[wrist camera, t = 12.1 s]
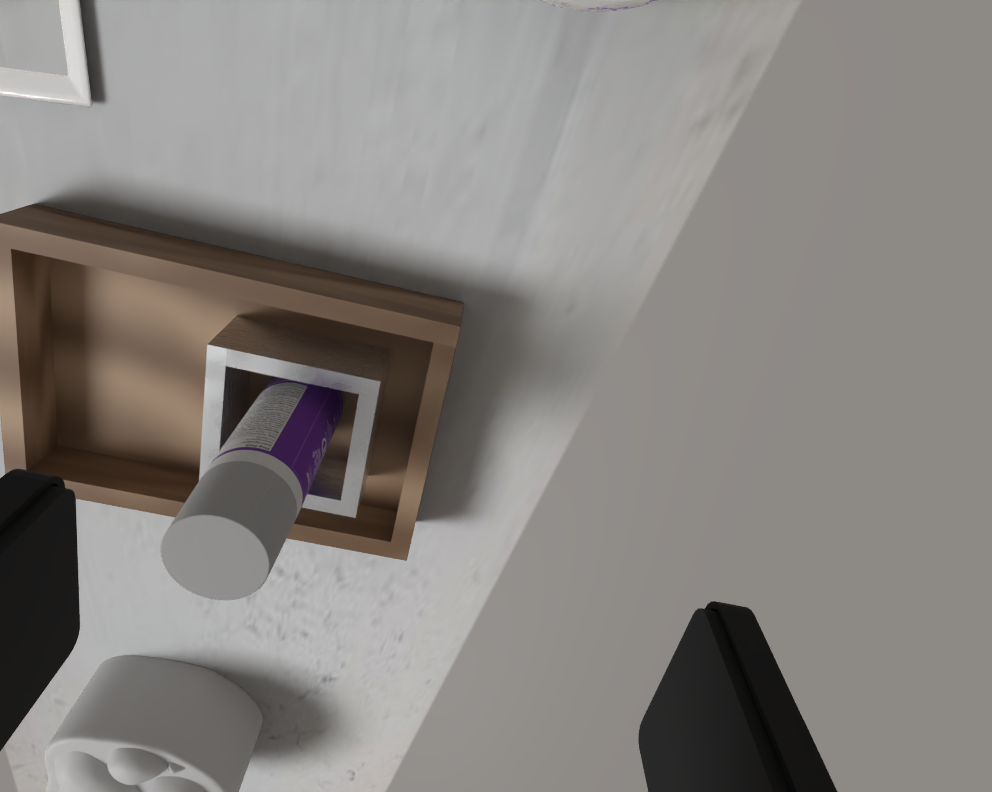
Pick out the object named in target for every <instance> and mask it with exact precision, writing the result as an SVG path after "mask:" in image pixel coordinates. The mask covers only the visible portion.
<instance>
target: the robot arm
mask: <svg viewBox="0 0 992 792" xmlns="http://www.w3.org/2000/svg"><path fill="white" fill-rule="evenodd" d="M79 630H80V615H79V585H78V555H77V526H76V498H75V493H74V491H73V490H71V489H67V488H65V483H64V481H63V479H62V478H61V477H59V476H55V475H49V474H44V473H39V472H34V471H28V470H23V469H13V470H11V471H10V472H8V473H6V474H5V475H4V476H3V477H2V478H0V751H1V749H2V748H3V747H4V745H5V744H6V743H7V741H8V740H9V738H10V737H11V736H12V734H13V733H14V731H15V730H16V729H17V727H18V726H19V724H20V723H21V722H22V720H23V719H24V717H25V716H26V715H27V713H28V712H29V710H30V709H31V708H32V706H33V705H34V703H35V702H36V701H37V699H38V698H39V697H40V695H41V694H42V692H43V691H44V690H45V688H46V687H47V685H48V684H49V683H50V681H51V680H52V678H53V677H54V676H55V674H56V673H57V671H58V670H59V669H60V667H61V666H62V664H63V663H64V662H65V660H66V659H67V658H68V656H69V655H70V653H71V651H72V650H73V648H74V646H75V644H76V641H77V638H78V635H79ZM639 748H640V754H641V758H642V763H643V768H644V773H645V777H646V782H647V787H648V792H837V790H836V788H835V786H834V784H833V782H832V779H831V778H830V775H829V773H828V771H827V769H826V767H825V765H824V762H823V760H822V758H821V756H820V754H819V752H818V750H817V747H816V745H815V743H814V741H813V739H812V737H811V735H810V732H809V730H808V728H807V726H806V724H805V722H804V720H803V718H802V716H801V714H800V712H799V710H798V707H797V705H796V703H795V701H794V699H793V697H792V695H791V692H790V690H789V688H788V686H787V684H786V682H785V680H784V677H783V675H782V673H781V671H780V669H779V667H778V665H777V662H776V660H775V658H774V656H773V654H772V652H771V650H770V647H769V645H768V643H767V641H766V639H765V637H764V635H763V632H762V630H761V628H760V626H759V624H758V622H757V620H756V617H755V615H754V614H753V612H752V611H751V610H750V609H748V608H747V607H741V606H736V605H731V604H726V603H721V602H715V601H714V602H710V603H709V604H708V605H707V606H706V608H705V609H697V610H696V611H695V613H694V614H693V616H692V618H691V620H690V622H689V624H688V626H687V628H686V631H685V633H684V635H683V637H682V639H681V641H680V643H679V645H678V647H677V649H676V651H675V653H674V655H673V657H672V659H671V662H670V664H669V666H668V668H667V670H666V672H665V674H664V676H663V678H662V680H661V682H660V684H659V686H658V689H657V691H656V693H655V695H654V697H653V699H652V701H651V703H650V705H649V707H648V710H647V711H646V713H645V715H644V718H643V720H642V722H641V725H640V730H639Z"/></svg>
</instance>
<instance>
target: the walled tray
mask: <svg viewBox="0 0 992 792" xmlns="http://www.w3.org/2000/svg"><path fill="white" fill-rule="evenodd" d="M463 305H464V303H462V302H458V301H454V300H449V299H445V298H441V297H436V296H432V295H427V294H423V293H419V292H414V291H410V290H406V289H401V288H397V287H393V286H388V285H384V284H379V283H375V282H371V281H366V280H362V279H358V278H353V277H349V276H345V275H340V274H336V273H331V272H327V271H323V270H318V269H314V268H310V267H305V266H301V265H297V264H292V263H288V262H283V261H279V260H275V259H270V258H266V257H262V256H257V255H253V254H248V253H244V252H240V251H235V250H231V249H227V248H222V247H218V246H214V245H209V244H205V243H200V242H196V241H192V240H187V239H183V238H179V237H174V236H170V235H166V234H161V233H157V232H152V231H148V230H144V229H139V228H135V227H131V226H126V225H122V224H118V223H113V222H109V221H104V220H100V219H96V218H91V217H87V216H83V215H78V214H74V213H70V212H65V211H61V210H56V209H52V208H48V207H43V206H39V205H35V204H32V205H28V206H25V207H22V208H19V209H15V210H12V211H9V212H6V213H3V214H0V416H1V428H2V440H3V451H4V463H5V474H6V473H8V472H10V471H11V470H13V469H23V470H28V471H34V472H39V473H44V474H49V475H55V476H59V477H61V478H62V479H63V481H64V483H65V488H67V489H71V490H73V491H74V493H75V498H76V499H81V500H86V501H92V502H97V503H102V504H107V505H113V506H118V507H123V508H129V509H134V510H139V511H145V512H150V513H155V514H161V515H166V516H171V517H176V516H177V515H178V513H179V511H180V510H181V508H182V507H183V505H184V504H185V502H186V501H187V499H188V498H189V496H190V495H191V493H192V491H193V490H194V488H195V487H196V485H197V484H198V482H199V473H200V456H201V440H202V423H203V406H204V390H205V373H206V356H207V344H208V343H209V342H210V341H211V340H212V339H213V338H214V337H215V336H216V335H217V334H218V333H219V332H220V331H221V330H222V329H223V328H224V327H226V326H227V325H228V324H229V323H230V322H231V321H232V320H233V319H234V318H235V317H236V316H237V315H238V316H242V317H247V318H251V319H256V320H260V321H265V322H270V323H274V324H279V325H283V326H288V327H292V328H297V329H301V330H306V331H311V332H315V333H320V334H324V335H329V336H333V337H338V338H342V339H347V340H352V341H356V342H361V343H365V344H370V345H374V346H379V347H383V348H388V349H392V353H391V358H390V363H389V369H388V374H387V379H386V385H385V390H384V395H383V401H382V406H381V411H380V417H379V422H378V427H377V433H376V438H375V443H374V449H373V454H372V459H371V465H370V470H369V475H368V479H367V482H366V485H365V489H364V492H363V495H362V498H361V502H360V505H359V508H358V511H357V515H356V518H354V517H348V516H343V515H338V514H333V513H328V512H323V511H317V510H312V509H307V508H302V507H301V510H300V512H299V514H298V516H297V518H296V520H295V522H294V524H293V526H292V528H291V530H290V532H289V534H288V536H287V538H288V539H294V540H299V541H304V542H310V543H315V544H320V545H326V546H331V547H336V548H342V549H347V550H352V551H358V552H363V553H368V554H374V555H379V556H384V557H390V558H395V559H400V560H406V561H407V557H408V552H409V548H410V544H411V539H412V535H413V531H414V526H415V522H416V518H417V513H418V509H419V505H420V500H421V496H422V492H423V487H424V483H425V479H426V475H427V470H428V466H429V462H430V457H431V453H432V449H433V444H434V440H435V436H436V431H437V427H438V423H439V418H440V414H441V410H442V405H443V401H444V397H445V392H446V388H447V384H448V379H449V375H450V371H451V366H452V362H453V358H454V353H455V349H456V345H457V340H458V336H459V332H460V327H461V320H462V313H463ZM272 377H273V376H270V375H266V374H261V373H256V372H251V371H250V374H249V385H248V396H247V407H246V413H247V412H248V410H249V409H250V407H251V406H252V405H253V403H254V402H255V400H256V399H257V398H258V396H259V395H260V393H261V392H262V391H263V389H264V388H265V386H266V385H267V384H268V382H269V381H270V379H271V378H272ZM343 393H344V399H345V404H344V409H343V412H342V415H341V417H340V420H339V422H338V424H337V427H336V429H335V431H334V434H333V436H332V438H331V441H330V443H329V445H328V447H327V450H326V452H325V454H329V455H334V456H339V457H344V458H348V455H349V450H350V444H351V438H352V432H353V426H354V420H355V414H356V408H357V402H358V397H359V394H355V393H351V392H346V391H343Z"/></svg>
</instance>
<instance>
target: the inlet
mask: <svg viewBox="0 0 992 792" xmlns="http://www.w3.org/2000/svg"><path fill="white" fill-rule="evenodd" d="M391 353H392V349H388V348H383V347H379V346H374V345H370V344H365V343H361V342H356V341H352V340H347V339H342V338H338V337H333V336H329V335H324V334H320V333H315V332H311V331H306V330H301V329H297V328H292V327H288V326H283V325H279V324H274V323H270V322H265V321H260V320H256V319H251V318H247V317H242V316H238V315H237V316H236V317H235V318H234V319H233V320H232V321H231V322H230V323H229V324H228V325H227V326H226V327H224V328H223V329H222V330H221V331H220V332H219V333H218V334H217V335H216V336H215V337H214V338H213V339H212V340H211V341H210V342H209V343H208V344H207V356H206V373H205V390H204V406H203V423H202V440H201V456H200V473H199V481H200V479H201V478H202V476H203V474H204V473H205V471H206V470H207V468H208V466H209V465H210V464H211V462H212V461H213V459H214V458H215V457H216V455H217V454H218V452H219V451H220V450H221V448H222V447H223V445H224V444H225V443H226V441H227V440H228V438H229V437H230V436H231V434H232V433H233V431H234V430H235V429H236V427H237V426H238V424H239V423H240V421H241V420H242V419H243V417H244V416H245V414H246V407H247V396H248V385H249V374H250V371H251V372H256V373H261V374H266V375H270V376H275V377H280V378H285V379H289V380H294V381H299V382H303V383H308V384H313V385H318V386H322V387H327V388H332V389H337V390H341V391H346V392H351V393H355V394H359V397H358V402H357V408H356V414H355V420H354V426H353V432H352V438H351V444H350V450H349V455H348V458H344V457H339V456H334V455H329V454H324V457H323V459H322V461H321V464H320V466H319V468H318V470H317V473H316V475H315V477H314V480H313V482H312V484H311V487H310V489H309V491H308V494H307V496H306V498H305V500H304V503H303V505H302V508H307V509H312V510H317V511H323V512H328V513H333V514H338V515H343V516H348V517H354V518H356V515H357V511H358V508H359V505H360V502H361V498H362V495H363V492H364V489H365V485H366V482H367V479H368V475H369V470H370V465H371V459H372V454H373V449H374V443H375V438H376V433H377V427H378V422H379V417H380V411H381V406H382V401H383V395H384V390H385V385H386V379H387V374H388V369H389V363H390V358H391Z"/></svg>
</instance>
